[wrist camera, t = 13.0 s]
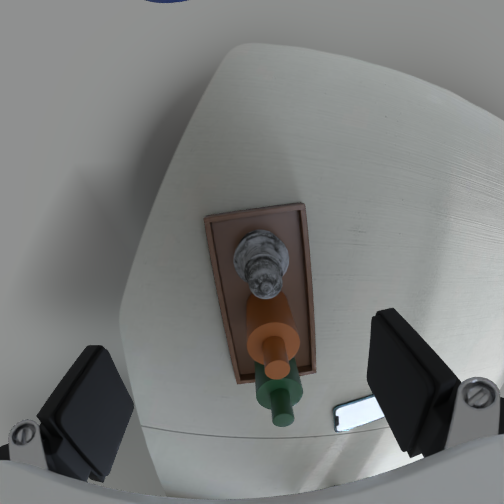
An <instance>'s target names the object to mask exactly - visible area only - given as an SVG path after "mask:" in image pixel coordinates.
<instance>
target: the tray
mask: <svg viewBox="0 0 504 504" xmlns="http://www.w3.org/2000/svg"><path fill="white" fill-rule="evenodd" d="M305 209H306V208H305V204H304V203H302V202H300V203H292V204H284V205H276V206H268V207H261V208H253V209H246V210H239V211H233V212H226V213H219V214H213V215H207V216H205V217H204V223H205V229H206V235H207V241H208V246H209V252H210V257H211V263H212V268H213V273H214V279H215V284H216V289H217V294H218V299H219V304H220V309H221V314H222V319H223V324H224V328H225V333H226V338H227V342H228V347H229V351H230V356H231V360H232V365H233V369H234V373H235V378H236V382H237V384H245V383H254V382H255V364H254V359H252V357H251V356H250V355H249V353H248V350H247V326H246V304H247V300H248V298H249V296H250V295H251V294H252V292H251V290H250V288H249V284H248V283H247V282H245V281H243V280H242V279H241V278H240V277H239V275H238V274H237V272H236V270H235V267H234V253H235V250H236V248H237V246H238V245H239V242H240V240H241V239H242V237H244V236H245V235H246V234H247V233H249V232H251V231H254V230H266V231H270V232H271V233H273V234H275V236H276V237H277V238H279V239H280V240H281V241H282V242H283V243H284V244H285V246H286V248H287V250H288V254H289V265H288V268H287V271H286V272H285V274H284V275H283V277H282V281H283V283H282V288H281V291H282V292H283V293H284V295H285V296H286V298H287V301H288V304H289V307H290V310H291V313H292V316H293V319H294V323H295V326H296V329H297V332H298V335H299V339H300V346H299V349H298V351H297V353H296V355H295V356H294V357H295V361H296V365H297V369H298V373H299V376H303V375H308V374H314V373H316V345H315V322H314V303H313V287H312V273H311V261H310V249H309V238H308V227H307V217H306V210H305Z"/></svg>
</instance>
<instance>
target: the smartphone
mask: <svg viewBox="0 0 504 504" xmlns="http://www.w3.org/2000/svg"><path fill="white" fill-rule="evenodd" d="M333 416H334V430H335V432H342V431H346V430H349V429H352V428H355V427H358V426H361V425H364V424H367V423H370V422H373V421H376V420H378V419H381V418H384V417H385V416H384V414H383V412H382V410H381V408H380V406H379V404H378V402H377V400H376V398H375V396H374V395H371V396H368V397H365V398H362V399H359V400H356V401H353V402H350V403H346V404H343V405H340V406H337V407H335V408H334V410H333Z"/></svg>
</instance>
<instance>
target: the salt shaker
mask: <svg viewBox="0 0 504 504" xmlns="http://www.w3.org/2000/svg"><path fill="white" fill-rule="evenodd" d="M288 265H289V254H288V250H287V248H286V246H285V244H284V243H283V242H282V241H281V240H280V239H279V238H277V237H276V236H275V234H273V233H271V232H270V231H266V230H254V231H251V232H249V233H247V234H246V235H245V236H244V237H242V239H241V240H240V242H239V245H238V246H237V248H236V250H235V253H234V267H235V270H236V272H237V274H238V275H239V277H240V278H241V279H242V280H243V281H245V282H247V283H248V284H249V288H250V290H251V292H252V293H253V294H254V295H255V296H257V297H258V298H261V299H270V298H273V297H275V296H276V295H277V294H279V292H280V291H281V288H282V283H283V281H282V277H283V275H284V274H285V272H286V271H287V268H288Z"/></svg>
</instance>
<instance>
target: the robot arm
mask: <svg viewBox="0 0 504 504" xmlns="http://www.w3.org/2000/svg"><path fill="white" fill-rule="evenodd" d="M367 382H368V385H369V387H370V389H371V391H372V393H373V394H374V396H375V398H376V400H377V402H378V404H379V406H380V408H381V410H382V412H383V414H384V416H385V418H386V420H387V422H388V424H389V426H390V428H391V430H392V432H393V434H394V436H395V438H396V440H397V442H398V444H399V446H400V448H401V450H402V451H403V452H406V451H407V452H408V455H409V457H410V458H412V457H414V456H417V455H419V454H421V453H422V454H423V456H424V458H423V459H420V460H418V461H415V462H413V463H410V464H407V465H405V466H402V467H399V468H397V469H394V470H391V471H388V472H385V473H382V474H378V475H375V476H372V477H368V478H365V479H362V480H358V481H354V482H351V483H347V484H343V485H339V486H334V487H330V488H325V489H320V490H315V491H310V492H304V493H298V494H291V495H283V496H274V497H264V498H251V499H225V500H212V499H186V498H173V497H162V496H153V495H147V494H140V493H133V492H128V491H122V490H118V489H113V488H108V487H104V486H99V485H96V484H91V483H88V482H87V479H88V477H89V478H90V479H91V480H95V481H99V482H104V479H105V476H108V475H109V473H110V471H111V468H112V465H113V462H114V460H115V457H116V454H117V451H118V449H119V446H120V443H121V441H122V438H123V435H124V433H125V430H126V427H127V425H128V422H129V419H130V417H131V415H132V412H133V409H134V404H133V401H132V399H131V397H130V395H129V393H128V391H127V389H126V387H125V385H124V383H123V381H122V379H121V377H120V375H119V373H118V371H117V369H116V367H115V365H114V362H113V360H112V358H111V356H110V354H109V352H108V350H106V349H105V348H104V347H103V346H101V345H89V346H87V347H86V348H85V349H84V351H83V352H82V353H81V355H80V356H79V357H78V358H77V360H76V361H75V362H74V364H73V365H72V367H71V368H70V369H69V371H68V372H67V373H66V375H65V376H64V377H63V379H62V380H61V381H60V383H59V384H58V386H57V387H56V388H55V390H54V391H53V393H52V394H51V395H50V397H49V398H48V400H47V401H46V403H45V404H44V406H43V407H42V408H41V410H40V412H39V413H38V414H37V418H38V419H39V420H40V422H41V424H40V425H38V424H37V423H36V422H35V421H33V420H28V419H27V420H22V421H21V422H18V423H17V424H16V425H14V426H13V428H12V429H11V431H10V433H9V438H8V439H9V443H8V444H6V445H3V446H1V447H0V504H504V398H502V397H500V392H499V389H498V387H497V385H496V384H494V383H493V382H492V381H491V380H489V379H487V378H482V377H473V378H469V379H467V380H465V381H463V382H461V381H460V380H459V379H458V378H457V376H456V375H455V374H454V373H453V372H452V371H451V369H450V368H449V367H448V366H447V365H446V364H445V363H444V361H443V360H442V359H441V358H440V357H439V356H438V355H437V354H436V353H435V351H434V350H433V349H432V348H431V347H430V346H429V345H428V344H427V343H426V342H425V341H424V339H423V338H422V337H421V336H420V335H419V334H418V333H417V332H416V331H415V330H414V329H413V328H412V327H411V326H410V325H409V323H408V322H407V321H406V320H405V319H404V318H403V317H402V316H401V315H400V314H399V313H398V312H397V311H396V310H395V309H394V308H389V309H385V310H380V311H377V313H376V316H373V317H372V320H371V335H370V348H369V359H368V368H367Z"/></svg>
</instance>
